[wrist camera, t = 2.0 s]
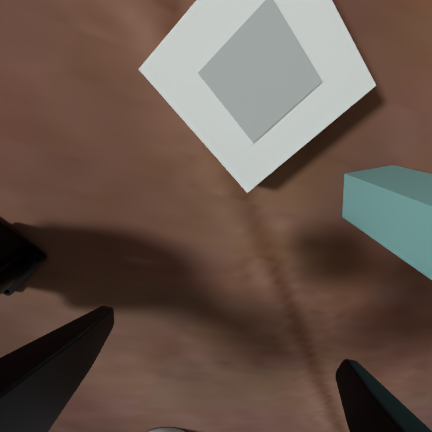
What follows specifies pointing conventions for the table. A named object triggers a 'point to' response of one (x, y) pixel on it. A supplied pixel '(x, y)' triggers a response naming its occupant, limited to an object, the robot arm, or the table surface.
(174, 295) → the table surface
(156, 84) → the plinth
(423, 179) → the pillar
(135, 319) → the table surface
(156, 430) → the mug
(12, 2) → the table surface
